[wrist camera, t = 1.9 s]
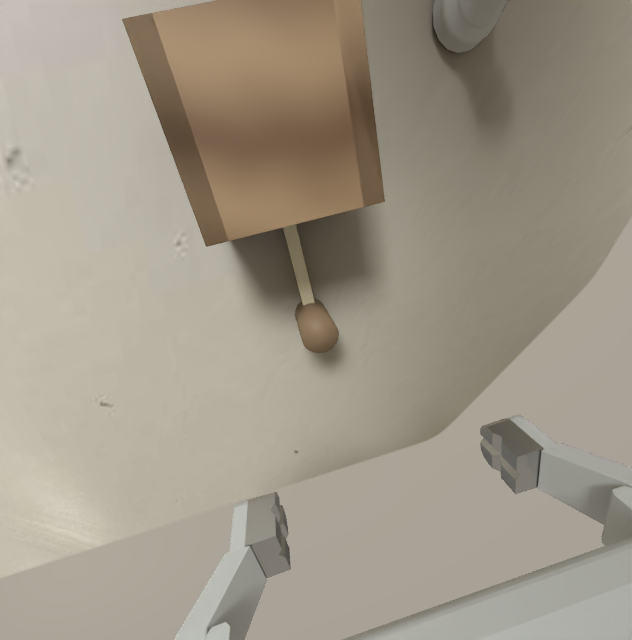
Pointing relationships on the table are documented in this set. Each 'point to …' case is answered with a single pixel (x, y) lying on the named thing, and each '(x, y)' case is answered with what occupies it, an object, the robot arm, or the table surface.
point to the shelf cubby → (263, 109)
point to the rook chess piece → (465, 21)
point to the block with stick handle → (309, 302)
